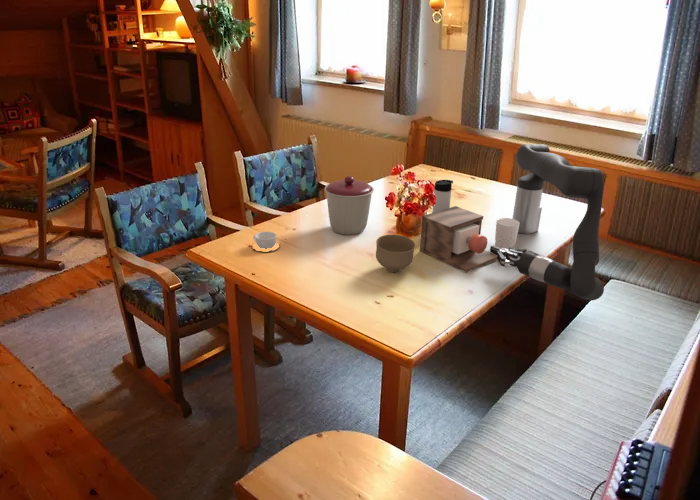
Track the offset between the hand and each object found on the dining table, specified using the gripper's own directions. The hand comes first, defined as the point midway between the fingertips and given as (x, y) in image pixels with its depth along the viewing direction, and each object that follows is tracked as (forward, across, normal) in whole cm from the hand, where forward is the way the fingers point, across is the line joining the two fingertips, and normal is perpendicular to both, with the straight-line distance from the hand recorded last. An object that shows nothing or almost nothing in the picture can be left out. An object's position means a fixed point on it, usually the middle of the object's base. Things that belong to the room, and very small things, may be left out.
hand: (491, 248), depth 188 cm
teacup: (+59, +49, +8) cm, 77 cm away
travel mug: (+32, -11, +7) cm, 35 cm away
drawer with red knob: (+10, 0, +4) cm, 11 cm away
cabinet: (+13, 0, +7) cm, 15 cm away
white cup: (+8, -18, +7) cm, 21 cm away
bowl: (+18, +26, +7) cm, 32 cm away
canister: (+54, +16, +7) cm, 57 cm away
